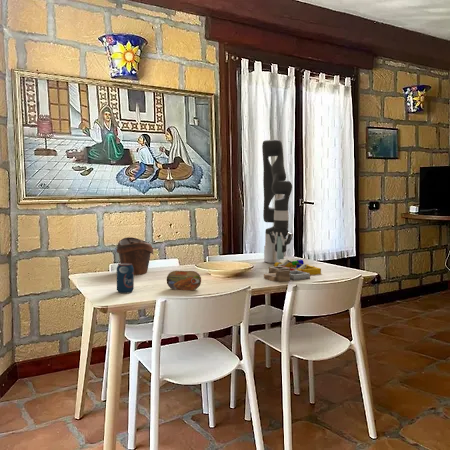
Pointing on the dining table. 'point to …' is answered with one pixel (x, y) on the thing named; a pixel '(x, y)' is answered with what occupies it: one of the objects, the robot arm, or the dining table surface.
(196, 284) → the tin
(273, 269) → the socket block
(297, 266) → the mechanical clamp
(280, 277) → the bench dog
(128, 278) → the soda can
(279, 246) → the dowel
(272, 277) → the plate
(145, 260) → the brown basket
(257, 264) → the dining table surface
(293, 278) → the tray
